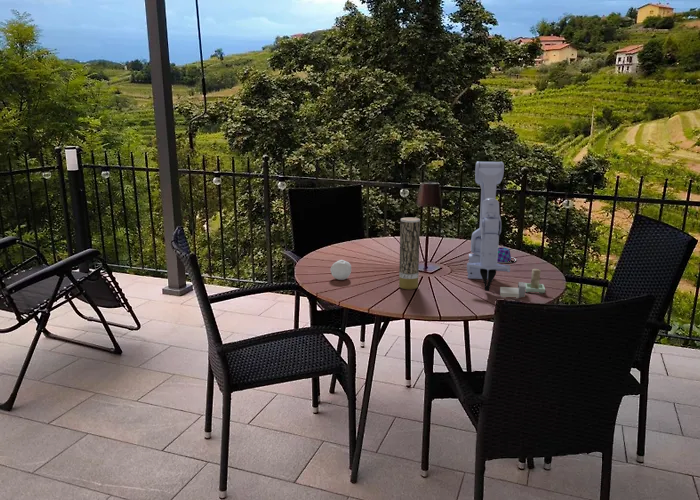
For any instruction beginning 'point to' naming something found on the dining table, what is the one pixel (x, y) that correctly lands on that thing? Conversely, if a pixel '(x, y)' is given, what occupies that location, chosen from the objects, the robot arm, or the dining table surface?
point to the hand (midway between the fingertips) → (486, 290)
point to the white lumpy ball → (341, 269)
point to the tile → (509, 292)
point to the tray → (529, 289)
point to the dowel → (535, 278)
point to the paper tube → (409, 253)
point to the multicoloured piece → (504, 255)
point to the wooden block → (521, 289)
